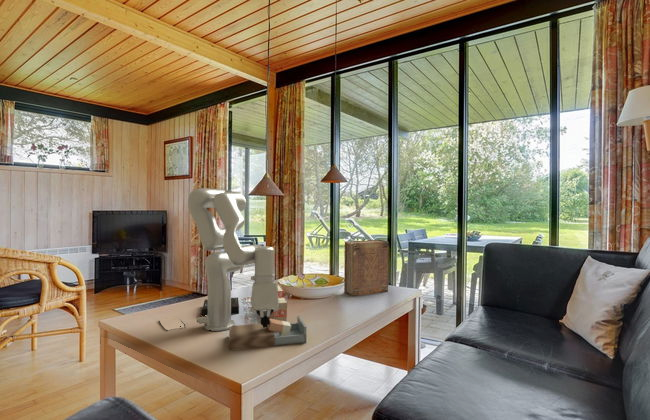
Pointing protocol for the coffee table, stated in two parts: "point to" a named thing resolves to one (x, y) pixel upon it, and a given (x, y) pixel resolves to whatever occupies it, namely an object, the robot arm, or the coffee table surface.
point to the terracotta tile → (275, 325)
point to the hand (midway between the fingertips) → (265, 326)
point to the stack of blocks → (280, 307)
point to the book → (366, 267)
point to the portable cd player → (233, 307)
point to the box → (292, 334)
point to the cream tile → (285, 329)
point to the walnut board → (250, 336)
